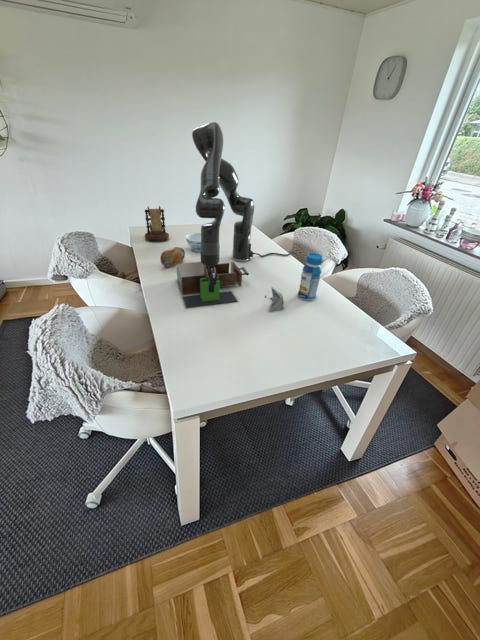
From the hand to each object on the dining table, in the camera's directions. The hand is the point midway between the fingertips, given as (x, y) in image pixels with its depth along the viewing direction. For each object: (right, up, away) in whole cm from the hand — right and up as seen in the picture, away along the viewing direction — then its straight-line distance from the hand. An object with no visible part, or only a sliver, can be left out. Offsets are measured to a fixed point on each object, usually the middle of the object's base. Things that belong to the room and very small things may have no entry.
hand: (209, 288), depth 129 cm
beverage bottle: (+44, -3, +10) cm, 45 cm away
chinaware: (-11, +29, +51) cm, 59 cm away
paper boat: (+27, -7, +2) cm, 28 cm away
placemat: (0, -4, +3) cm, 5 cm away
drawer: (+7, +6, +17) cm, 19 cm away
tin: (-23, +16, +31) cm, 42 cm away
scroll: (-40, +38, +62) cm, 83 cm away
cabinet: (-8, +3, +13) cm, 15 cm away
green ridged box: (0, -4, +3) cm, 5 cm away
